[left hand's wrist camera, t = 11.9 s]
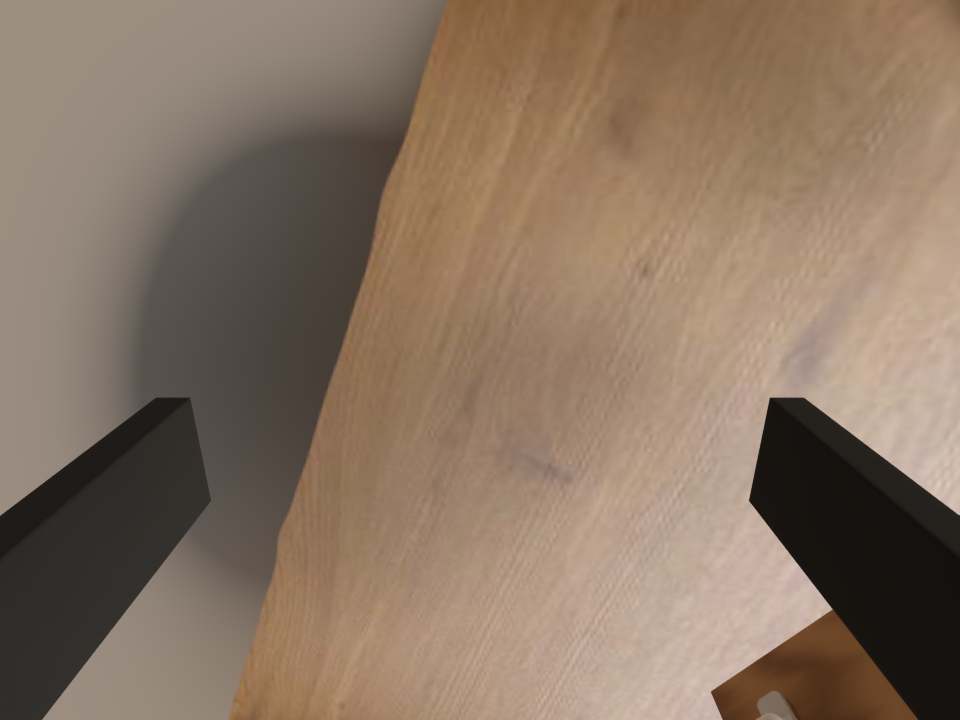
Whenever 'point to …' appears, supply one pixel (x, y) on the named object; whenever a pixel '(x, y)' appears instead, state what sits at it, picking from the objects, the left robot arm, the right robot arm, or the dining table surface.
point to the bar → (815, 679)
